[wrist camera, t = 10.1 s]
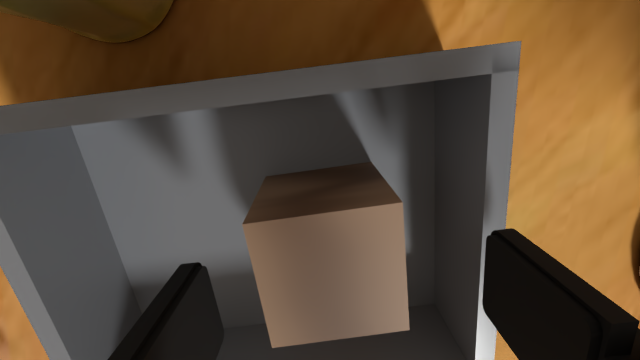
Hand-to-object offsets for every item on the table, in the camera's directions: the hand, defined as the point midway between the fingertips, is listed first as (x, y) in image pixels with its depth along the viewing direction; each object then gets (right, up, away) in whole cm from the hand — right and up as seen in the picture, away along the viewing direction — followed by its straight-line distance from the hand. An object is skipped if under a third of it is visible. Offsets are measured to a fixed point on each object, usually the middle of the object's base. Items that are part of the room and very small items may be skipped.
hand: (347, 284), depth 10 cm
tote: (-3, +2, +6) cm, 7 cm away
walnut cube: (-1, +2, +5) cm, 5 cm away
